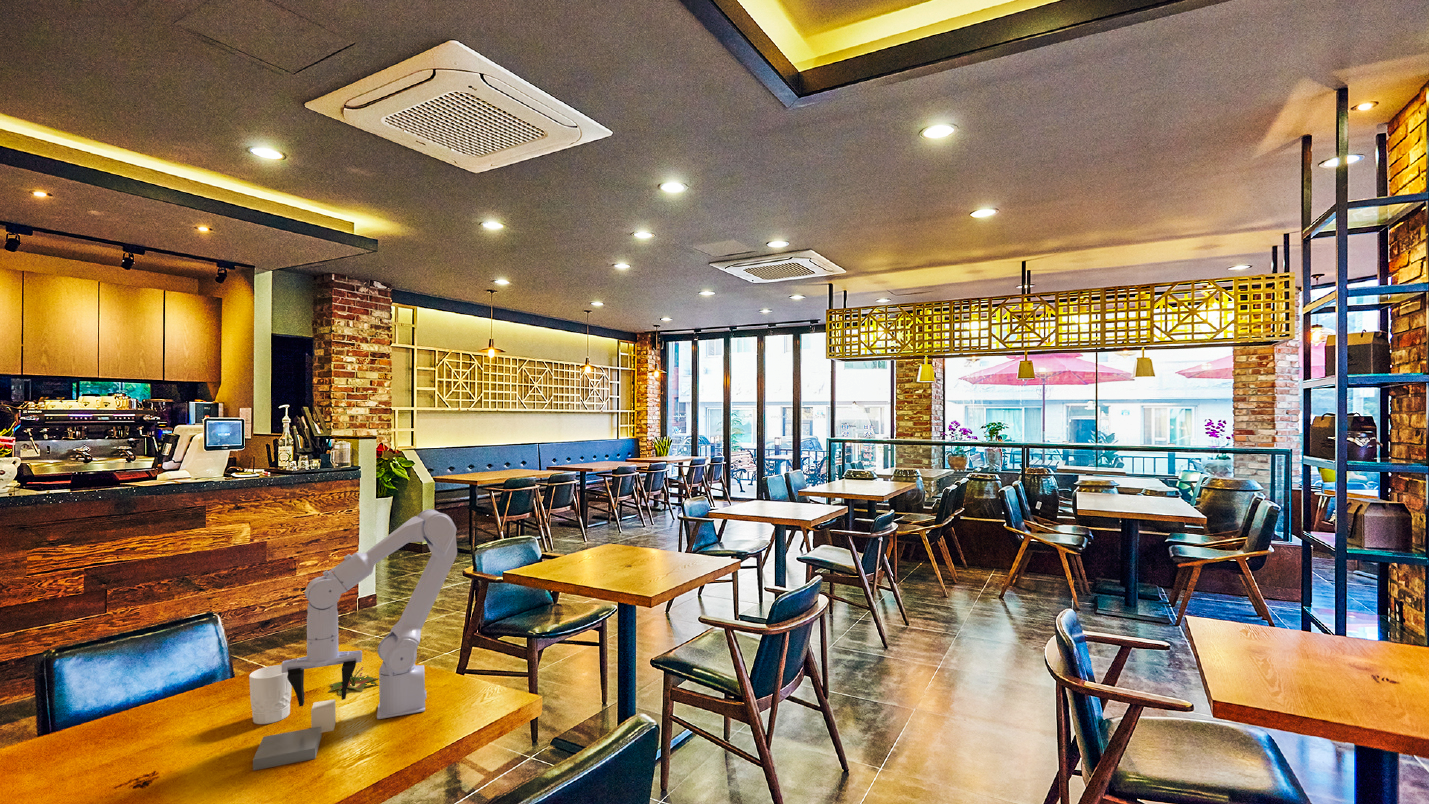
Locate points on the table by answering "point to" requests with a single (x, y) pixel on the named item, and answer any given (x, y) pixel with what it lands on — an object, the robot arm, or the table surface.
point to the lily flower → (354, 681)
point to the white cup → (269, 694)
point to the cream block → (323, 715)
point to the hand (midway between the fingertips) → (323, 701)
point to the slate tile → (287, 748)
